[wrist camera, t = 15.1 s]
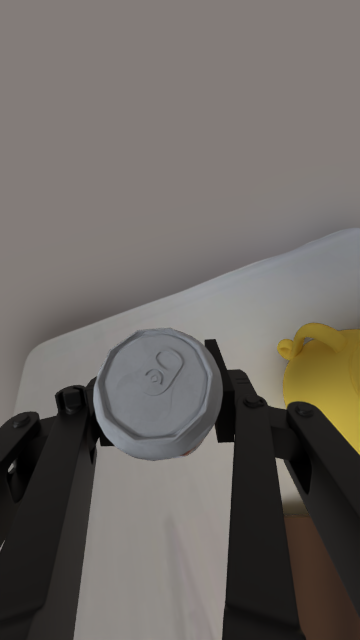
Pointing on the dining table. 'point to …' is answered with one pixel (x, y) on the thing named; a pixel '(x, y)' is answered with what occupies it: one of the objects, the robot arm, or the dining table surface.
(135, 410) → the beer can
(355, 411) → the teapot
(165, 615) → the dining table surface
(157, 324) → the dining table surface
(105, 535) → the dining table surface
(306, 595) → the flat wooden board
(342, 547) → the robot arm
